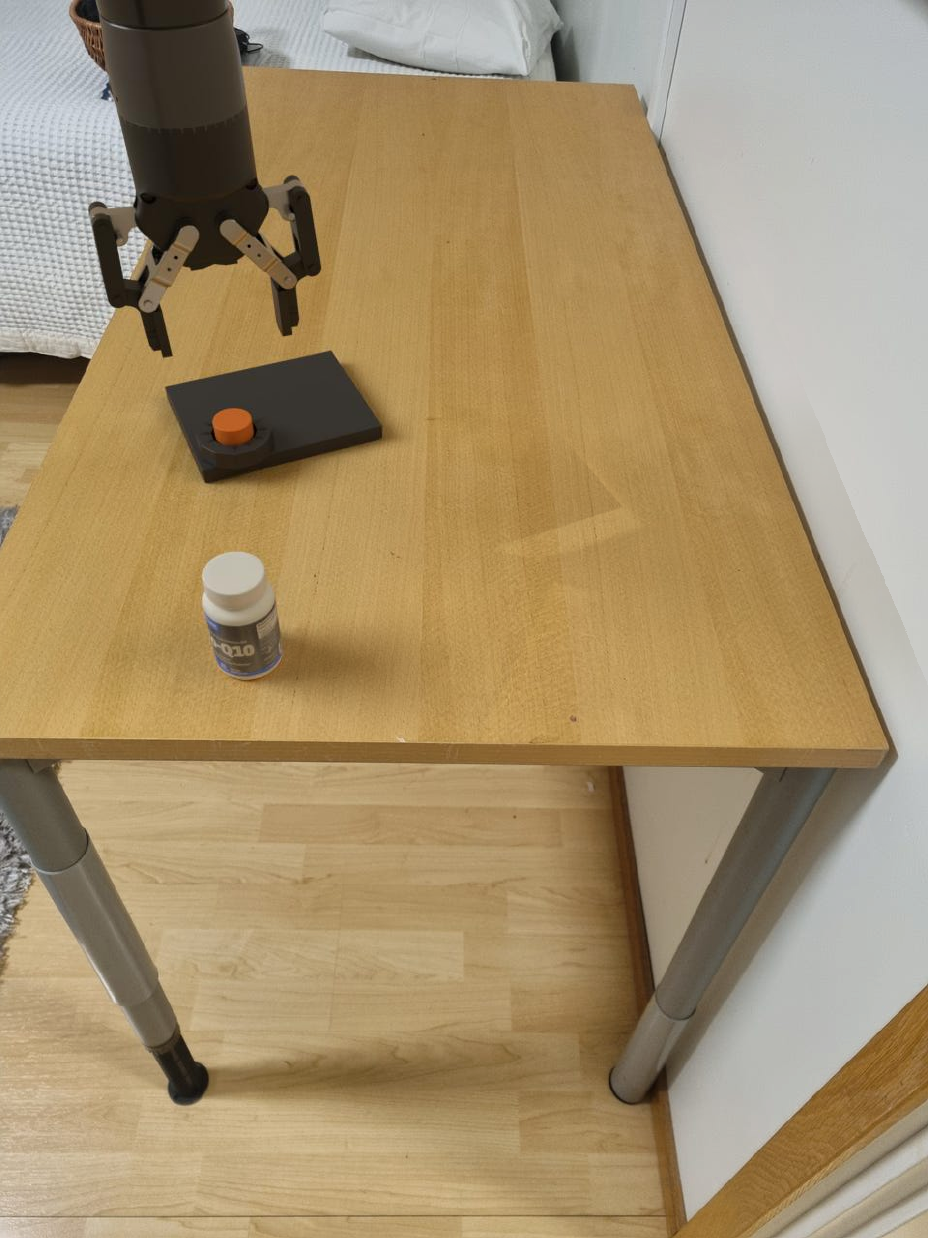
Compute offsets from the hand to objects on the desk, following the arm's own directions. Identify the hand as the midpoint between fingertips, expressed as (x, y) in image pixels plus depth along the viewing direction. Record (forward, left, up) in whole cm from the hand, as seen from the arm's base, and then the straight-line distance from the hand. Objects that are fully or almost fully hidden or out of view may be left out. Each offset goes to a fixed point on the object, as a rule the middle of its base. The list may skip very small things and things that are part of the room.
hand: (226, 340), depth 67 cm
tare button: (0, +5, -12) cm, 12 cm away
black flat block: (+5, +9, -14) cm, 17 cm away
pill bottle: (-5, -17, -14) cm, 23 cm away
